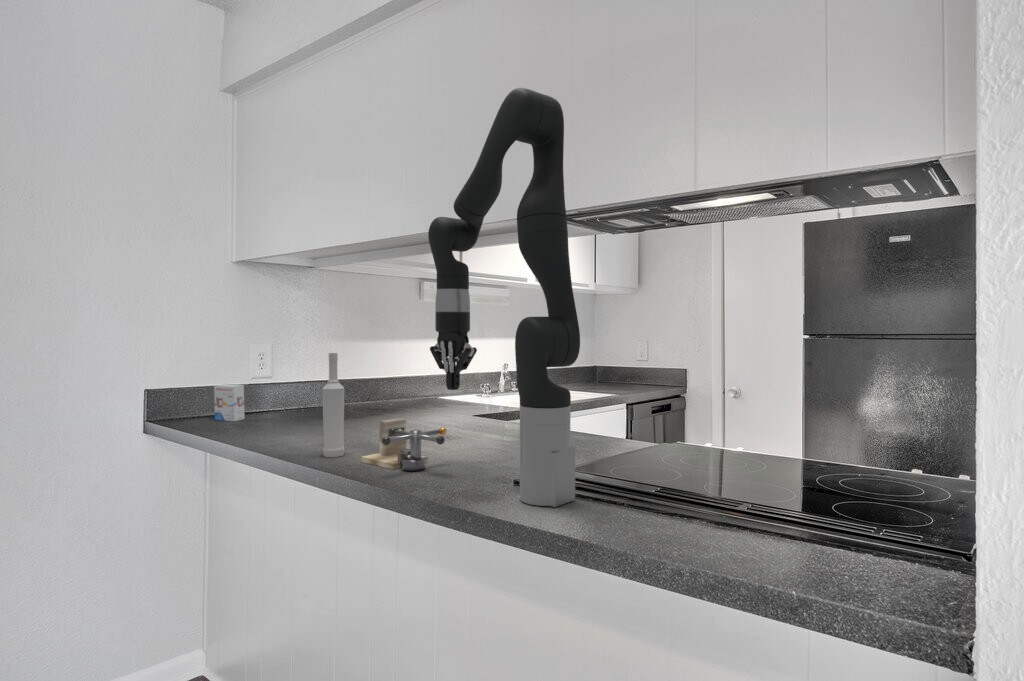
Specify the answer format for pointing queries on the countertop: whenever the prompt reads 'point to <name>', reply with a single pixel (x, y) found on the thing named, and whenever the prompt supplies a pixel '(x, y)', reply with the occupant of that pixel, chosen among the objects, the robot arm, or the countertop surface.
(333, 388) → the bottle
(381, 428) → the stand
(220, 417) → the ink box
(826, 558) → the countertop surface
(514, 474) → the countertop surface
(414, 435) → the grey cross handle
